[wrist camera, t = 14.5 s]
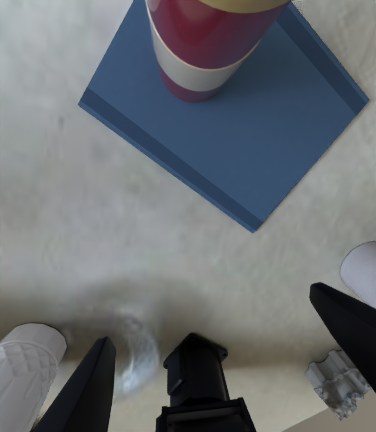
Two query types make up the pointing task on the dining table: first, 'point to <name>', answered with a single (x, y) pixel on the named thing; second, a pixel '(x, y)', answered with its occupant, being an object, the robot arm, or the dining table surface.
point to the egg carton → (338, 383)
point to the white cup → (27, 373)
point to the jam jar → (206, 41)
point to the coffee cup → (361, 272)
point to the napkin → (230, 114)
